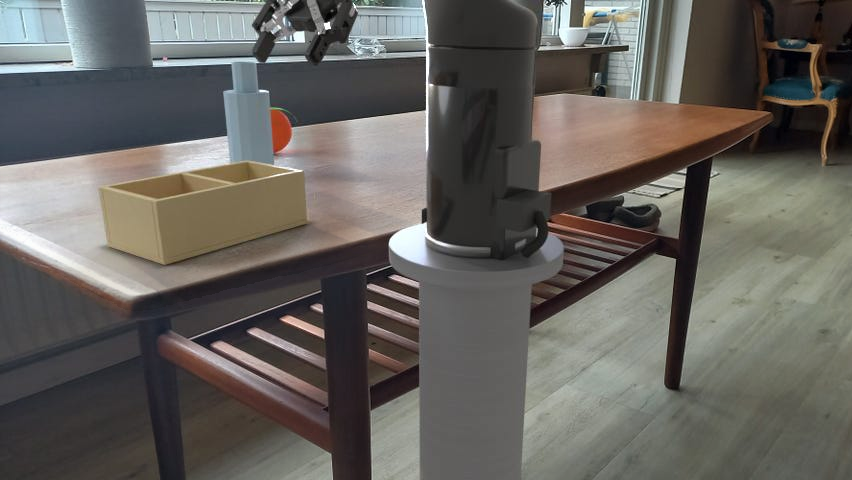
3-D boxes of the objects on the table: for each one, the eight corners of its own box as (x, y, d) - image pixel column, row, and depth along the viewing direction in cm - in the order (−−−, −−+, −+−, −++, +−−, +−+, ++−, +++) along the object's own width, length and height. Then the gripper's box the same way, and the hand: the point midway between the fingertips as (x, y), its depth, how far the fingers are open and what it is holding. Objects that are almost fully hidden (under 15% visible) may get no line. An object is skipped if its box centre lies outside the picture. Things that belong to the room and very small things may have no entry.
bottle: (284, 177, 91) (276, 62, 86) (250, 184, 86) (239, 64, 81) (256, 171, 93) (247, 60, 89) (222, 178, 89) (210, 61, 84)
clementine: (294, 147, 112) (291, 102, 109) (304, 155, 106) (302, 108, 103) (243, 150, 108) (239, 104, 106) (251, 158, 102) (246, 109, 100)
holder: (307, 223, 71) (304, 170, 69) (164, 265, 58) (155, 201, 56) (252, 210, 75) (248, 160, 73) (107, 246, 62) (97, 186, 60)
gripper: (275, -49, 97) (225, 37, 91) (361, -50, 92) (315, 41, 86) (300, -6, 104) (255, 77, 97) (383, -5, 98) (341, 82, 92)
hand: (283, 60), depth 92 cm, fingers open, 8 cm apart
